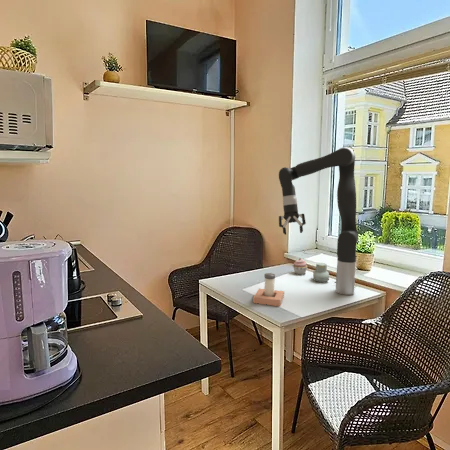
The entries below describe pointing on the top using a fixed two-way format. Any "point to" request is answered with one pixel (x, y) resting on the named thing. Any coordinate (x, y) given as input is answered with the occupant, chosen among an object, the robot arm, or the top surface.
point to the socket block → (269, 298)
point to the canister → (269, 284)
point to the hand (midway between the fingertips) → (293, 233)
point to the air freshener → (321, 273)
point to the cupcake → (300, 266)
